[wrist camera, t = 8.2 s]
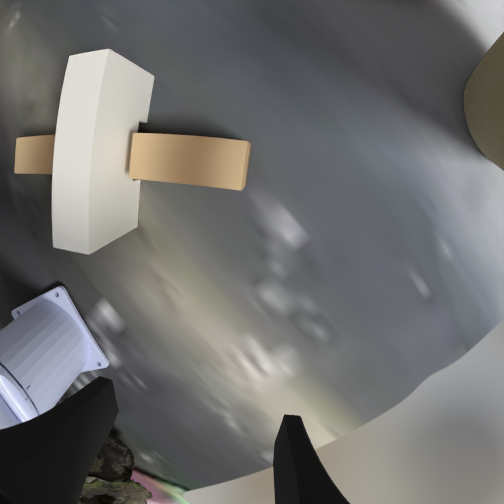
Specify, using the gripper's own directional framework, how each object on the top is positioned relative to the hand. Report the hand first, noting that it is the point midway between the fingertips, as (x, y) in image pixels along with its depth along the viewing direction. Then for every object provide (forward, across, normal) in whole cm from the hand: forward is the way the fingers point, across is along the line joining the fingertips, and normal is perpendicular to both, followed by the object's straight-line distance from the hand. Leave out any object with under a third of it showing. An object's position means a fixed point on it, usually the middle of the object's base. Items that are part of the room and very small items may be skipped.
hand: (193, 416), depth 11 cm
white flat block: (+10, +8, -10) cm, 16 cm away
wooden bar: (+10, +8, -9) cm, 16 cm away
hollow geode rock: (+10, +14, +28) cm, 33 cm away
